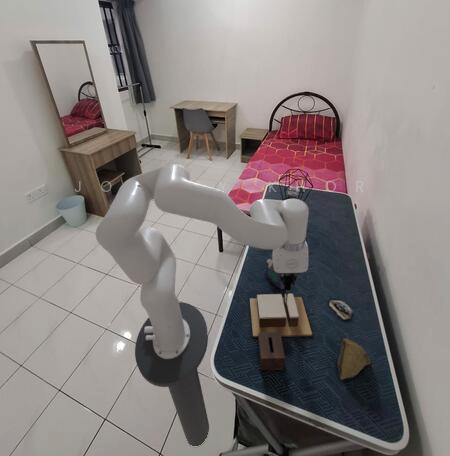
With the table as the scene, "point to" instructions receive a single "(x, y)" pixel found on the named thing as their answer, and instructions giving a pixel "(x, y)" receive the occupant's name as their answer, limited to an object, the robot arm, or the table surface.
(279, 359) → the knife block
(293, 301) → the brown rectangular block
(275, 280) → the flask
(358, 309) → the table surface
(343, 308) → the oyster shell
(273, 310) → the cake loaf
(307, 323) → the board
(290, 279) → the knife
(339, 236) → the table surface
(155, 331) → the robot arm
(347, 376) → the rock
